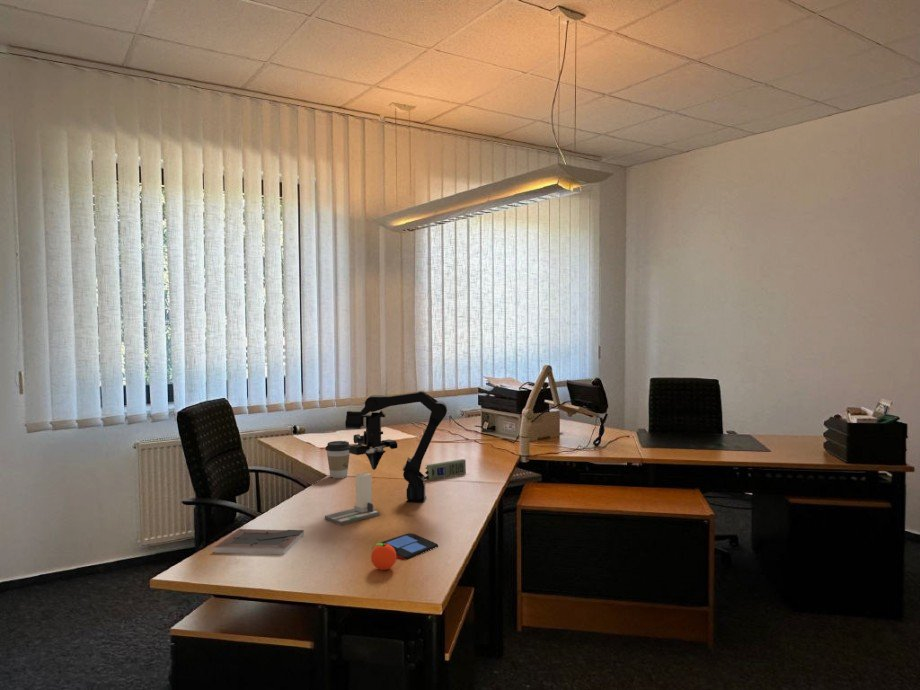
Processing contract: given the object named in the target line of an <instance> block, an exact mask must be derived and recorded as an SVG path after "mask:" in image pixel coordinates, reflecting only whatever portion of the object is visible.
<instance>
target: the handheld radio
mask: <svg viewBox="0 0 920 690" xmlns="http://www.w3.org/2000/svg"><path fill="white" fill-rule="evenodd" d="M466 466H467V463H466V459H465V458H461V459H460V458H459V459H455V460H447V461H443V462H437V463H430V464H425V468H424V469H425V470H426V471H425V472H424V474H425V475H426V476H425V477H424V481H425V480H427V481H432V480H433V479H434V480H439V479H443V478H444V477H445V478H449V477H450V476H451V477H455V475H456V476H461V474H462V475H466V474H467V469H466V468H467V467H466ZM438 478H439V479H438ZM434 480H433V481H434Z"/></svg>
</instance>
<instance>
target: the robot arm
mask: <svg viewBox="0 0 920 690" xmlns="http://www.w3.org/2000/svg"><path fill="white" fill-rule="evenodd" d="M415 403H421V405H423V406H424V407H425V408H427V409H428V410H429V411H430V415H429V419H428V422H427V425H426V427H425V429H424V431H423V434H422V436H421V438H420V441H419V442H418V445H417V448H416V450H415V452H414V454H413V456H412V457H411V458H410V457H407V460H406V462H405V464H404V465H403V467H402V471H403V475H402V476H403V478H404V480H405V481H406V482H408V484H407V487H406V499H407V501H406V502H407V503H424V502H425V501H426V499H427V495H426V482H425V480H424V477H426V476H425V475H424V474H423V473H422V472H421V466H422V463H423V460H424V457H425V455H426V453H427V450H428V448H429V447H430V443H431V441H432V439H433V437H434V435H435V433H436V431H437V428H438V427H439V425H440V424H441V422H442V421H444V418H445V416H447V412H448V407H447V404H446V403H445V402H443V401H442V400H441V401H440V400H439V401H438V400H437V399H435V398H434V397H432V396H431V395H429V394H428V393H427V391H424V390H419V391H415V392H408V393H401V394H393V395H383V394H372V395H369V396H368V397H367V398H366V400H365V401H364V407H363V408H361V410H359V411H358V410H357V411H356V410H354V411H353V410H347V411H346V416H345V423H344V424H345V425H344V426H345V429H346V430H362V428H363V427H365V430H363V435H360V434H359V433H357V434H354V435H353V443H354V444H353V445H351V446H350V448H349V453H350V454H351V455H356V456H360V455H361V456H362V455H366V457H367V459H368V461H369V464H370V466H371V469H372V470H373V471H374V470H376V469H377V467H378V465H379V462H380V460H381V459H382V457H383V456H384V453H386V450H384V448H389V449H391V450H394V449H398V442H397V440H393V439H389V438H387V439H383V440H382V435H384V431H382V418H386V416H387V414H386V413H385V412H384V411H383V409H386V408H389V407H395V406H400V405H407V404H415ZM377 411H378V412H377ZM369 413H371V414H369Z"/></svg>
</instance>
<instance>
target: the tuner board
mask: <svg viewBox="0 0 920 690" xmlns="http://www.w3.org/2000/svg"><path fill="white" fill-rule="evenodd" d="M373 516H374V517H376V516H380V511H377V510H375V509H374V510H373V512H370V511H368V512H364V513H361V512H359V511H356V510H354V508H350V509H346V510H342V511H338V512H335V513H330V514H327V515H324V519H325V520H326V521H330V522H331V523H334V524H336V525H338V526H343V525H347V524H351V523H355V522H358V521H362V520H366V519H369V518H373Z"/></svg>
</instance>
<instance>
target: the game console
mask: <svg viewBox="0 0 920 690" xmlns="http://www.w3.org/2000/svg"><path fill="white" fill-rule="evenodd" d="M380 543H383V544H384V543H385V544H389V545H391V546H392V547H393V548H394V549H395V551H396V558H398V559H400V558H401V560H404V559H407V560H409V559H411V557H412V558H414V557H417V556H420V555H421V553H422V554H424V553H426V552H425V551H427V552H429V551H431V550H430V549H432V550H434V549H433V548H435V547H437V548H439V544H438V543H437V542H434V541H431V540H429V539H427V538H425V537H422V536H419V535H418V534H415V533H412V532H411V533H410V532H409V533H404V534H402V535H399V536H396V537H393V538H390V539H387V540H385V541H382V542H380ZM435 549H436V548H435ZM428 550H429V551H428ZM423 552H424V553H423ZM416 555H417V556H416Z"/></svg>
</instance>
